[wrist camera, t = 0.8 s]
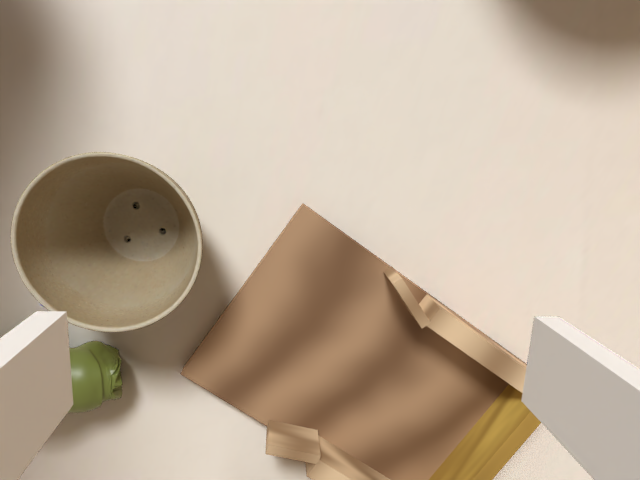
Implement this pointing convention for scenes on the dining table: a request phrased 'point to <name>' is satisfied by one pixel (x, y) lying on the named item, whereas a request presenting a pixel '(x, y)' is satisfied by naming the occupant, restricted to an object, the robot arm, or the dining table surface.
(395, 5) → the dining table surface
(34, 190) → the flower pot
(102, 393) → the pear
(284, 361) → the slot board
